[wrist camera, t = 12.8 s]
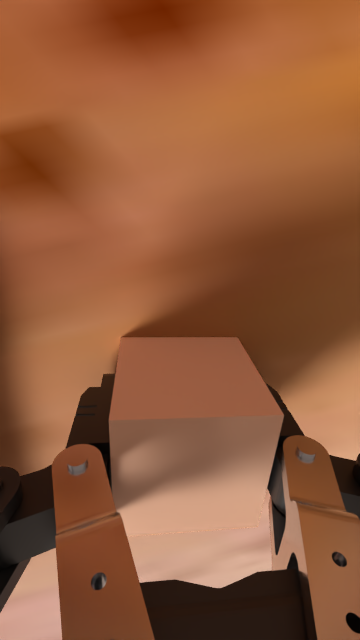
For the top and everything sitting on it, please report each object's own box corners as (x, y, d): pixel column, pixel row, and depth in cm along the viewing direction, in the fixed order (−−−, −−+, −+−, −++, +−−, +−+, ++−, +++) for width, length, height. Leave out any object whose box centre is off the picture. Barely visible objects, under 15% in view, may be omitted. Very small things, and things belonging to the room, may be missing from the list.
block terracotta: (120, 337, 12) (108, 420, 8) (237, 337, 12) (284, 414, 8) (123, 429, 14) (114, 537, 9) (224, 426, 14) (258, 527, 10)
